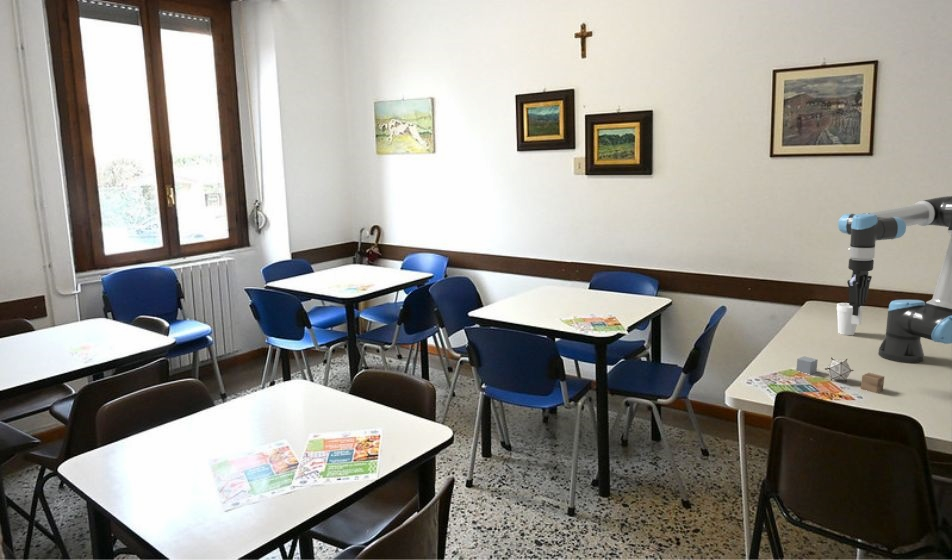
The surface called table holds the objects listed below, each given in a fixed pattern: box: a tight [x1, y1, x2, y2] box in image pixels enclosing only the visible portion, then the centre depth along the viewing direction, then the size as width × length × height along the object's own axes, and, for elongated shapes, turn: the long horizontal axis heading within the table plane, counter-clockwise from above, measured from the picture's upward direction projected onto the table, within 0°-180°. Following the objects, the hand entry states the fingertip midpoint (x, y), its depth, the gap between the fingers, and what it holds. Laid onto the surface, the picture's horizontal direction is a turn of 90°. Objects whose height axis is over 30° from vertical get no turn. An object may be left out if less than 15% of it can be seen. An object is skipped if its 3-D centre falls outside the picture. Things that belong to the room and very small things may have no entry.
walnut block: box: [860, 372, 885, 394], centre depth 227 cm, size 5×5×5 cm
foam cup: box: [836, 302, 857, 336], centre depth 292 cm, size 10×9×13 cm
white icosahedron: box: [824, 357, 854, 383], centre depth 236 cm, size 9×8×10 cm
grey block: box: [796, 356, 818, 375], centre depth 245 cm, size 5×5×5 cm
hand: (856, 323), depth 234 cm, fingers closed
